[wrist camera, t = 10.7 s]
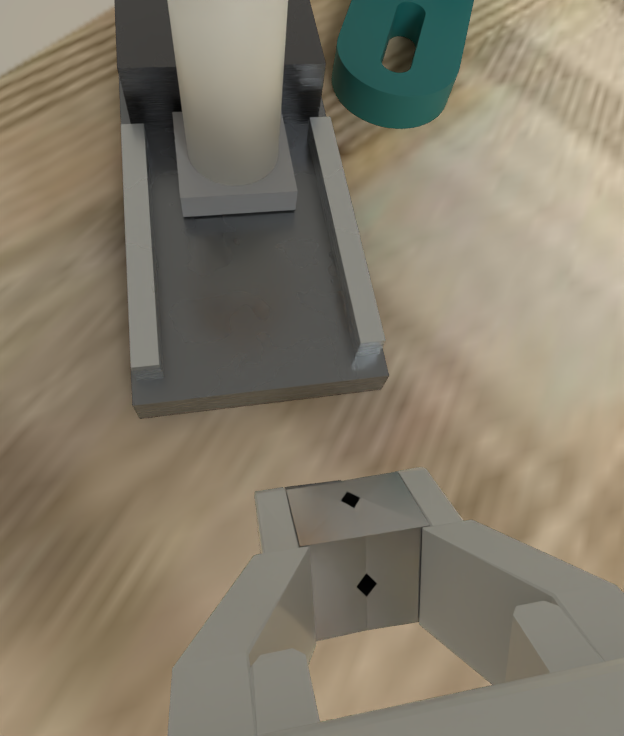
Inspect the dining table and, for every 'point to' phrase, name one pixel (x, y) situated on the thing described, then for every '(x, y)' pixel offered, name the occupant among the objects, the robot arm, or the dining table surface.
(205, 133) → the knob
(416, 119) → the bracket
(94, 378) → the dining table surface
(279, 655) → the robot arm
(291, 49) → the mount
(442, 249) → the dining table surface
